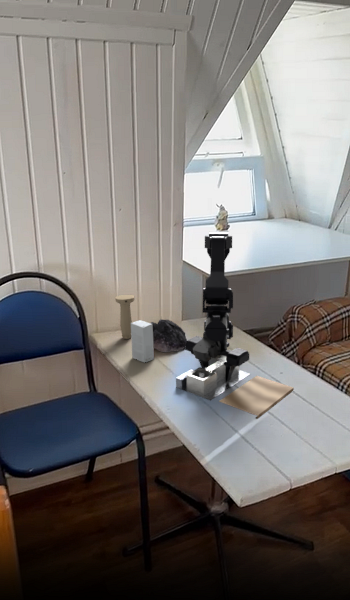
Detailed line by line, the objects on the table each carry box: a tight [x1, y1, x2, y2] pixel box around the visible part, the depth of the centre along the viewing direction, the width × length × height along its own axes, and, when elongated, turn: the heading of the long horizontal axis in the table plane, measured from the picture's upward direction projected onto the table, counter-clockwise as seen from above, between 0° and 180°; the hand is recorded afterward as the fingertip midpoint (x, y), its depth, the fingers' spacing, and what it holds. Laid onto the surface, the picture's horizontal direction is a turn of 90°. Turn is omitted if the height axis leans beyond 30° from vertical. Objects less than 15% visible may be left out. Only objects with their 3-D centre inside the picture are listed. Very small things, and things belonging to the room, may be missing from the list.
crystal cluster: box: [150, 319, 188, 353], centre depth 185 cm, size 13×14×10 cm
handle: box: [114, 294, 135, 340], centre depth 190 cm, size 5×6×15 cm
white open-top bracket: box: [187, 355, 240, 395], centre depth 158 cm, size 18×6×4 cm, turn 140°
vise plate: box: [175, 368, 251, 402], centre depth 158 cm, size 20×12×6 cm, turn 140°
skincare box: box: [130, 319, 155, 363], centre depth 174 cm, size 6×4×12 cm
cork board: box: [218, 375, 295, 420], centre depth 151 cm, size 19×12×1 cm, turn 140°
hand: (216, 377), depth 159 cm, fingers open, 7 cm apart
